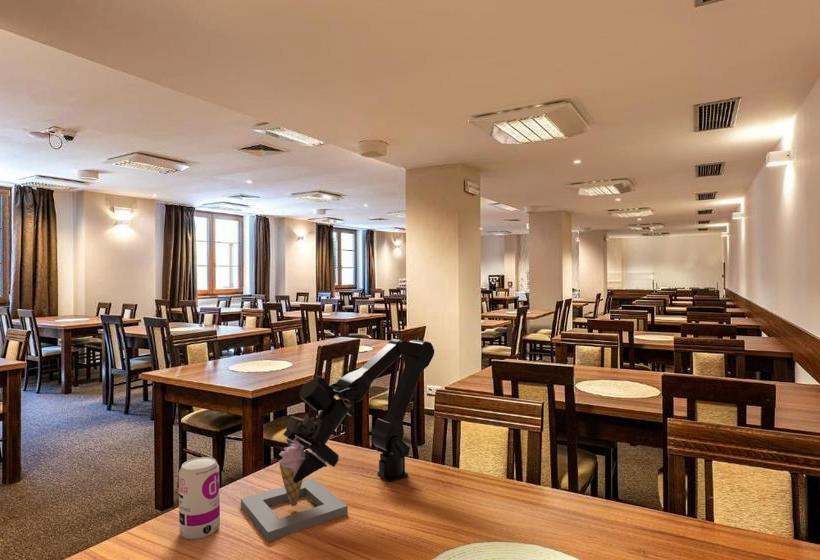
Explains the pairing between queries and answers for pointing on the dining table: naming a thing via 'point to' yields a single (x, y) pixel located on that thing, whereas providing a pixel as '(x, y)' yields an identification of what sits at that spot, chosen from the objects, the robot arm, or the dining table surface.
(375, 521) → the dining table surface
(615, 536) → the dining table surface
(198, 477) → the supplement can
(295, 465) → the ice cream cone
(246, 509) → the grey flat square frame
